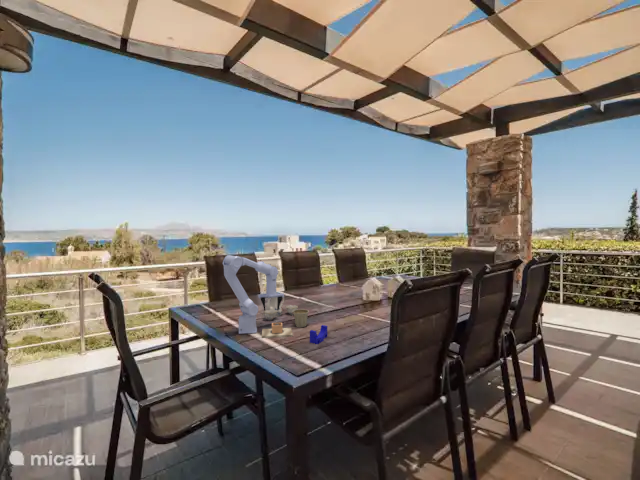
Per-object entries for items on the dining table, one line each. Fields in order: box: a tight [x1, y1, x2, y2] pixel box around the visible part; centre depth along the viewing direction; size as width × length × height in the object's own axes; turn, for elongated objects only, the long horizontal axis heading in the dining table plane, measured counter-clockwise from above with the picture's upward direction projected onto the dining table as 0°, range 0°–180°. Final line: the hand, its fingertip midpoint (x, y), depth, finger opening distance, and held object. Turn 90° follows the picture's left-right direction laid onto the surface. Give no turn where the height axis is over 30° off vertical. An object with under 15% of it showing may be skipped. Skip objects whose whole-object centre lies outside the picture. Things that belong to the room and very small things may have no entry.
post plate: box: [261, 322, 294, 339], centre depth 178 cm, size 16×12×6 cm
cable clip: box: [309, 324, 328, 345], centre depth 168 cm, size 12×4×6 cm, turn 147°
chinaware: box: [261, 291, 299, 321], centre depth 212 cm, size 28×17×17 cm, turn 142°
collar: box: [271, 322, 284, 333], centre depth 177 cm, size 6×6×4 cm
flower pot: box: [293, 308, 310, 328], centre depth 191 cm, size 9×9×9 cm
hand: (271, 310), depth 191 cm, fingers open, 7 cm apart
